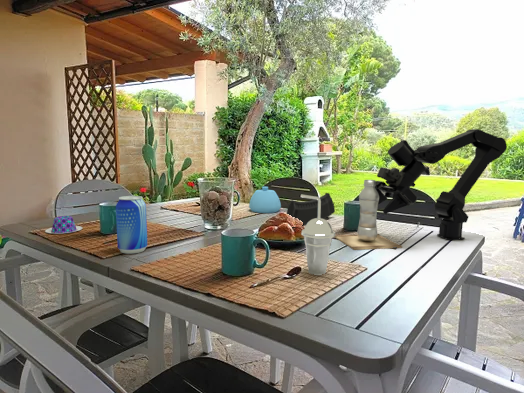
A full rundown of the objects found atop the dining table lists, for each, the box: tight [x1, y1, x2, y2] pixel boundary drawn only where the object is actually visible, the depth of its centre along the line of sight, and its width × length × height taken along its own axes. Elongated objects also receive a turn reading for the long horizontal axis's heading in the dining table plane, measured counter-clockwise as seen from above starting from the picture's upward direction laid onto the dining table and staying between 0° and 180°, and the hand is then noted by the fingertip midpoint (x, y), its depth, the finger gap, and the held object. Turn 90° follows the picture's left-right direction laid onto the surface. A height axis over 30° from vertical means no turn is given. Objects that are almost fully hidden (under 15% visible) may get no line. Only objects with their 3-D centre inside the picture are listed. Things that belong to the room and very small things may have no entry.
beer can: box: [115, 195, 148, 255], centre depth 112 cm, size 8×8×16 cm
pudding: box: [44, 215, 83, 235], centre depth 136 cm, size 12×12×5 cm
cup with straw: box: [299, 194, 337, 276], centre depth 94 cm, size 8×9×20 cm
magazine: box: [286, 192, 336, 226], centre depth 154 cm, size 17×3×30 cm
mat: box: [334, 233, 403, 251], centre depth 125 cm, size 16×16×1 cm
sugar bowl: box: [248, 186, 282, 214], centre depth 179 cm, size 15×15×12 cm
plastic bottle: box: [356, 179, 379, 241], centre depth 123 cm, size 6×7×20 cm
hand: (376, 210), depth 124 cm, fingers open, 9 cm apart
